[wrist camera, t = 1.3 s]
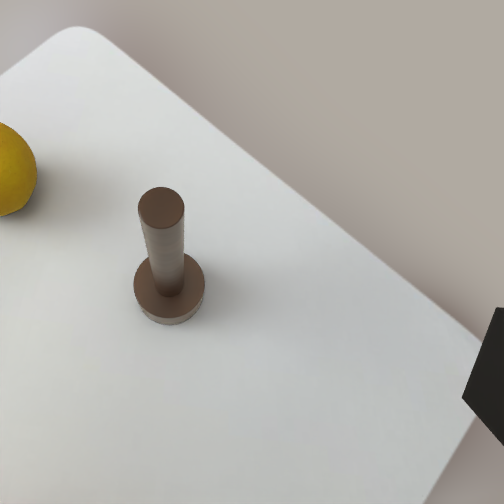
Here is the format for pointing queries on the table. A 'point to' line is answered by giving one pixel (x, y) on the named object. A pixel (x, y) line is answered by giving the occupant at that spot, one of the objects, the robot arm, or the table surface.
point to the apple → (15, 171)
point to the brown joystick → (166, 261)
